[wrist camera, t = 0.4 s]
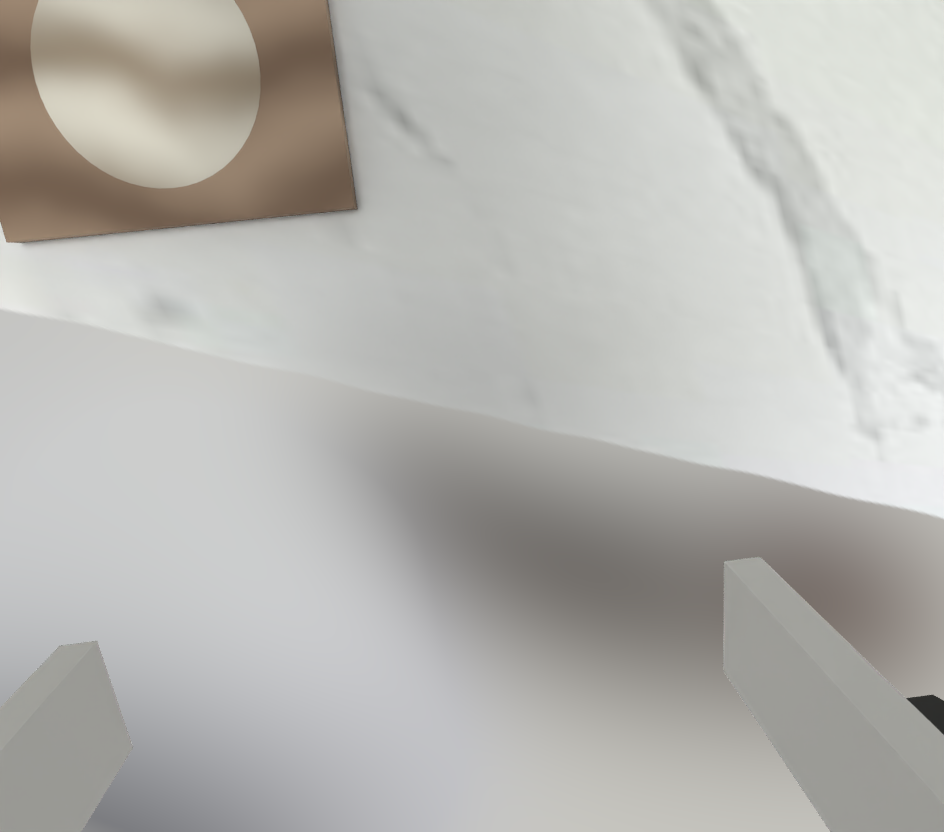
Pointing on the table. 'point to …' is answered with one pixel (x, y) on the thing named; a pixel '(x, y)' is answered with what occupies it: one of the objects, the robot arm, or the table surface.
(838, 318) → the table surface
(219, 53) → the board
